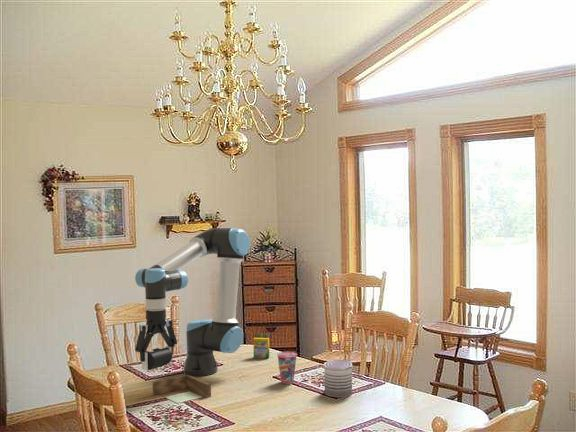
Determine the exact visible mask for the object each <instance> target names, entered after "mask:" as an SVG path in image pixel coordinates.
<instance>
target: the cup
mask: <svg viewBox="0 0 576 432" xmlns="http://www.w3.org/2000/svg"><path fill="white" fill-rule="evenodd" d="M297 357H298V353H297V352H293V351H282V352H281V351H280V352H277V358H278V359H277V360H278V370H279V376H280V382H281V384H283V385H292V384H294V379H295V373H296V363H297Z"/></svg>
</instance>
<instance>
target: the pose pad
mask: <svg viewBox="0 0 576 432" xmlns="http://www.w3.org/2000/svg"><path fill="white" fill-rule="evenodd" d="M201 398H202V395H200V394H198V393H197V394H196V393H194V392H193V391H186V392H182V393H177V394H174V395H173V394H172V395H169V396H165V399H167V400H169V401H171V402H173V403H175V404H180V403H186V402H189V401H193V400H197V399H201Z"/></svg>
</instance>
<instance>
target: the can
mask: <svg viewBox="0 0 576 432" xmlns="http://www.w3.org/2000/svg"><path fill="white" fill-rule="evenodd" d="M352 367H353V362H352V361H350V360H346V359H331V360H328V361H326V362H324V363H323V368H324V371H323V372H324V373H323V374H324V375H323V376H324V377H323V378H324V395H326V396H328V397H331V398H347V397H349V396H351V395H353V385H352V384H353V376H352V375H353V372H352V371H353V368H352Z"/></svg>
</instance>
